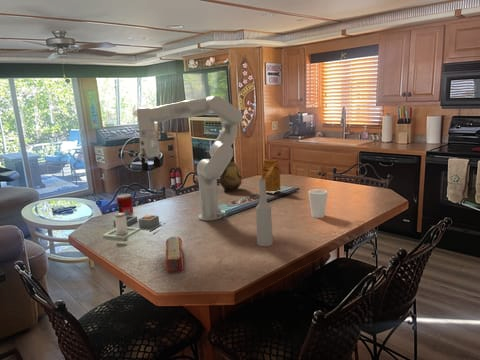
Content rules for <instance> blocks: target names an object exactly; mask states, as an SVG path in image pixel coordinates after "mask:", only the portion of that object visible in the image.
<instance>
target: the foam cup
mask: <svg viewBox="0 0 480 360" xmlns="http://www.w3.org/2000/svg"><path fill="white" fill-rule="evenodd" d="M308 198H309V205H310V211H311V217H312V218H317V219H320V218H321V219H322V218H324V217H325V214H326V207H327V206H326V205H327V198H328V191H327V190H325V189H317V188H316V189H311V190H308Z"/></svg>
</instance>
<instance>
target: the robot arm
mask: <svg viewBox="0 0 480 360" xmlns="http://www.w3.org/2000/svg"><path fill="white" fill-rule="evenodd" d="M210 114H211V115H212V114H216V116H218V117H219V120H220V123H221V129H220V130H221V131H220V132H219V134H218V136H217V137H216V139H215V140H214V142H213V143H212V145H211V146H210V148H209V151H208V152H209V156H210V158H202V159H201V160H199V161H198V163H197V166H196V173H197V178H198V179H197V180H198V189H199V202H200V214H198V219H199V220H200V221H205V222H209V221H210V222H211V221H216V220H217V221H218V220H220V219H221V218H223V216H224V217H226V215H227V213H226V211H225V210H221V209H222V208H220V205H219V195H218V194H219V191H218V189H219V188H218V182H217V181H218V180H217V179H220V176H221V175H222V173H223V172H224V170H225V169H226V167H227V166H228V164H229V163H230V161H231V159H232V157H233V158H234V154H233V151H234V148H233V149H232V147H233V146H232V145H233V143H234V141H236V138H237V134H238V128H237V127H238V126H239V125H240V124H241V123H242V121H243V118H244V117H243V114H242V112H241V110H240V109H238V107H235V106H234V105H233V104H231V103H230V102H229V101H227V100H226V99H225V98H223V97H221V96H218V95H209V96H204V97H200V98H199V97H198V98H193V99H187V100H183V101H182V100H181V101H179V102H178V101H177V102H174V103H169V104H163V105H158V106H157V105H156V106H155V107H149V106H147V107H138V108H137V110H136V117H137V125H138V126H137V127H138V133H139V134H138V135H139V153H138V154H137V157H138V160H139V162H140V163H141V169H142V171H143V172H148V171H150V170H149V162H148V160H149V159H152V158H153V167H154V168H161V164H160V163H161V162H160V161H161V160H160V159H161V157H160V156H161V148H160V146H159V140H158V136H157V133H156V126H155V122H160V123H164V122H168V121H169V120H173V119H187V118H188V119H189V118H195V117H198V116H199V117H200V116H204V115H210Z"/></svg>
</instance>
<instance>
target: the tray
mask: <svg viewBox="0 0 480 360" xmlns="http://www.w3.org/2000/svg"><path fill="white" fill-rule="evenodd" d="M127 230H131V231H130V232H129V233H127V234H124V235H117V234H114V233H115V232H116V228H114V229H112V230H110V231H108V232H106V233H104V234H102V237H103V240H104V239H105V241H114V242H115V241H116V242H123V243H124V242H127V241H128V239H126V238H128V237H130V236H132V235H134V234H135V233H137V232H139V231H141V228H133V227H127Z"/></svg>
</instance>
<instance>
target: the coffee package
mask: <svg viewBox="0 0 480 360" xmlns="http://www.w3.org/2000/svg"><path fill="white" fill-rule="evenodd" d="M260 173H261V178H260V179H265V180H266V181H265V186H266V191H277V190H280V191H281V169H280V168H279V165H278V160H276V159H275V160H269V159H266V158H264V160H263V164H262V169H261V172H260Z"/></svg>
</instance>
